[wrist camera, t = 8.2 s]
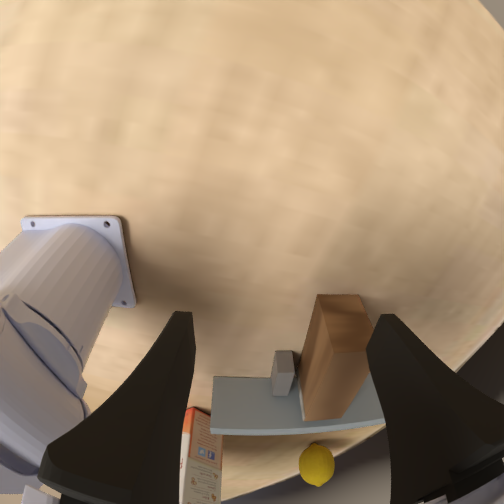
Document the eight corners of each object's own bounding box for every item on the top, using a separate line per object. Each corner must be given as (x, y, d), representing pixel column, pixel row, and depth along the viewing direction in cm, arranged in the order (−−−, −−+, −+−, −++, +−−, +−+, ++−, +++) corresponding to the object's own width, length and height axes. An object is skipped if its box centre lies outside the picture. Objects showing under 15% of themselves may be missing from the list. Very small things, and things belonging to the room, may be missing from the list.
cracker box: (190, 403, 32) (177, 567, 14) (225, 421, 34) (223, 568, 16) (131, 424, 36) (110, 547, 18) (162, 439, 39) (149, 554, 21)
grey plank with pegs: (214, 384, 29) (210, 433, 24) (212, 349, 26) (206, 405, 21) (388, 377, 30) (403, 419, 25) (409, 344, 27) (429, 389, 22)
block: (295, 370, 28) (302, 421, 23) (315, 293, 23) (332, 353, 18) (330, 368, 28) (341, 418, 23) (359, 294, 23) (383, 349, 18)
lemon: (290, 448, 41) (294, 490, 34) (307, 436, 38) (312, 482, 31) (319, 449, 42) (325, 489, 35) (337, 437, 39) (344, 480, 32)
